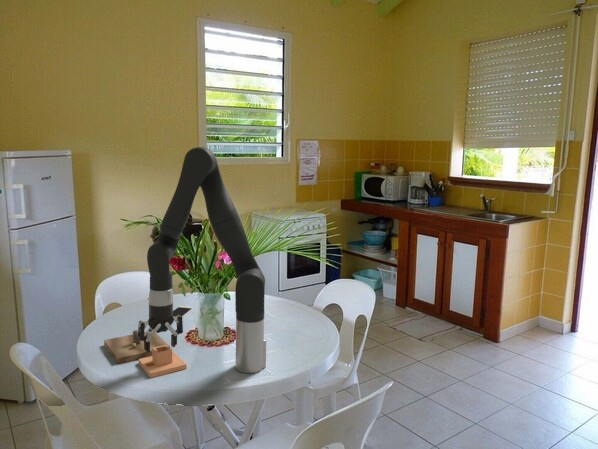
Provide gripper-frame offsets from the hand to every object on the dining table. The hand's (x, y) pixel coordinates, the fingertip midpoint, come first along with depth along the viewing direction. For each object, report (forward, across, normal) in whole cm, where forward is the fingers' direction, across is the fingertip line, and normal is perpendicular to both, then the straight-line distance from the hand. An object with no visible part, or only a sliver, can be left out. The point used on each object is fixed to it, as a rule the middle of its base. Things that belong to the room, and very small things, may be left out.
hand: (160, 348), depth 156 cm
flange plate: (+6, 0, 0) cm, 6 cm away
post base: (+6, -2, +18) cm, 19 cm away
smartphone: (+7, +24, +46) cm, 52 cm away
